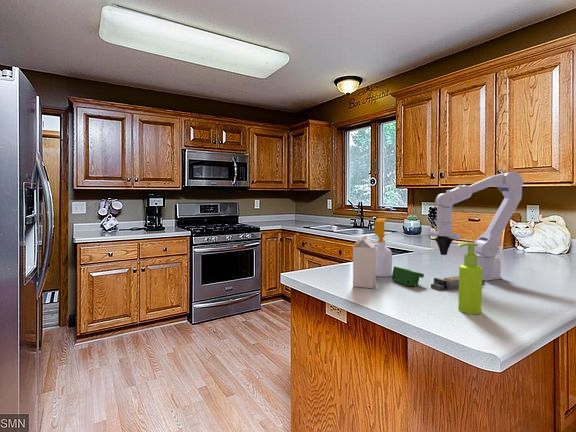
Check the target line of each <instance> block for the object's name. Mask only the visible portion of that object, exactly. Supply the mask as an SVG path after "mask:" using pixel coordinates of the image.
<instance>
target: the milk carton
mask: <svg viewBox="0 0 576 432" xmlns="http://www.w3.org/2000/svg"><path fill="white" fill-rule="evenodd" d="M367 236H368V235H367V234H365V235H364V236H362V237H361V238H362V239H361V238H358V239H357V240H355V243H356V244H355V245H354V246H353V247H352V287H353V288H354V287H357V288H363V289H365V288H366V289H373V288H374V287H375V286H376V276H375V266H376V246H377V245H375V244H374V243H373V242H372V241H371V240H370V239H369V238H368V237H367Z"/></svg>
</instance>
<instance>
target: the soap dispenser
mask: <svg viewBox="0 0 576 432" xmlns="http://www.w3.org/2000/svg"><path fill="white" fill-rule="evenodd" d="M456 246H457V247H460V248H461V247H467V252H466V253H464V255H463V256H464V257H463V259H464V261H463V263H464V264H461V265H458V266H459V273H458V276H459V288H458V311H460V312H462V313H464V314H470V315H480V314H481V313H482V296H483V293H482V292H483V291H482V290H483V284H482V267H480V266H477V260H478V255H476V252H475V251H474V246H478V244H475V243H474V242H461V243H458V244H456Z"/></svg>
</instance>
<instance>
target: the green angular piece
mask: <svg viewBox="0 0 576 432" xmlns="http://www.w3.org/2000/svg"><path fill="white" fill-rule="evenodd" d="M424 277H425V274H424V273H422V272H418V271H414V270H411V269H408V268H403V267H401V266H400V267H398V266H393V267H392V275H391V280H392V281H394V282H395V283H397V284H400V285H401V284H402V285H404V286H407V287H411V288H413V287H415V286H416V285H419V281H420V278H421V279H423V278H424Z"/></svg>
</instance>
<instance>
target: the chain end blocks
mask: <svg viewBox="0 0 576 432" xmlns="http://www.w3.org/2000/svg"><path fill="white" fill-rule="evenodd" d="M485 281H486V280H482V285H485V283H486V282H485ZM430 288H431V289H434V290H437V291H444V290H445V291H446V290H447V291H448V290H455V289H459V280H457V279H454V280H444V278H443V279H442V278H439V277H434V278H433V283H430Z"/></svg>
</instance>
